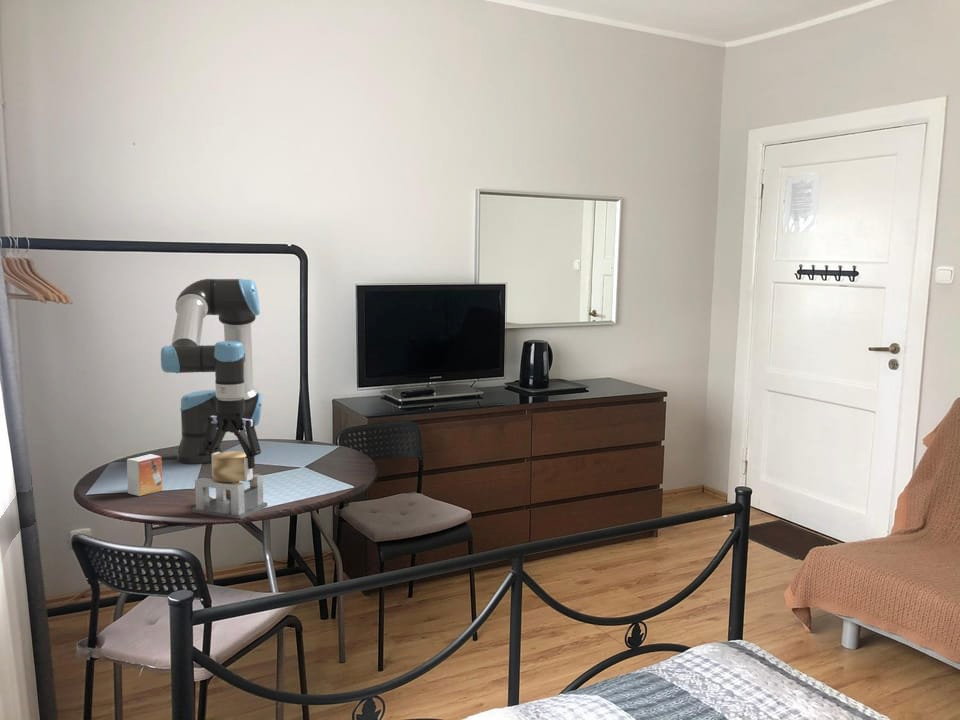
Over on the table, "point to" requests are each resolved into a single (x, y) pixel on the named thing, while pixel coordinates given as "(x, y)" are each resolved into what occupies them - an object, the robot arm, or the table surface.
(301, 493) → the table surface
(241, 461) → the mushroom peg
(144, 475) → the small box
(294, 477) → the table surface
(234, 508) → the fork bracket
